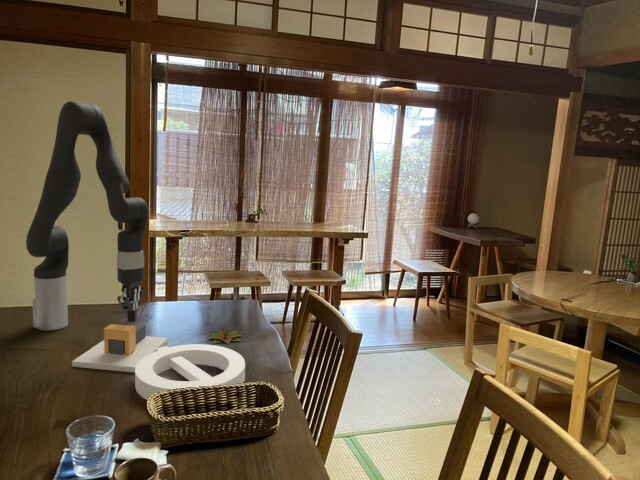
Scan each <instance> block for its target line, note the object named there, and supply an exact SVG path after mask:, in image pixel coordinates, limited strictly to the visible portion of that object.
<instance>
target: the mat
mask: <svg viewBox="0 0 640 480" xmlns="http://www.w3.org/2000/svg"><path fill="white" fill-rule="evenodd" d="M167 344H169V338H168V337H160V336H149V335H145V338H144V339H143V340H141V341H140V342H139V343H138V344H136V349H135V350H134V351H133V352H131V353H130V354H124V355H119V354H110V352H104V339H103V340H102V341H100V342H99V343H97V344H96V345H94V346H93V347H91V348H89V350H87V351H86V352H84V353H82V354H81V355H80V356H77V358H75V359H73V360H72V361H71V365H72V367H73V368H74V367H75V368H84V369H95V370H106V371H116V372H126V373H135V367H136V365H137V363H138V362H139V361H140V360H141V359H142V358H144V357H145V356H147V355H149V354H151V353H153V352H155V351H156V348H160V347H164V346H167Z"/></svg>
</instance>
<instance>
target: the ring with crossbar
mask: <svg viewBox="0 0 640 480" xmlns="http://www.w3.org/2000/svg"><path fill="white" fill-rule="evenodd" d="M197 365H201V366H208V367H209V366H211V367H214V366H215V367H214V368H217V367H218V369H220V370H222V371H223V370H224V371H223V372H221V373H220V374H217V375H215V376H211V375H210V374H208V372H206V371H204V370H203V369H201V368H200V367H198V366H197ZM170 369H172V370H174V371H176V373H178V374H180V375H181V376H182V377H184V378H185V379H186V380H188V381H184V380H183V381H182V380H173V379H168V378H165V377H161V376H160V374H162V373H163V372H164V371H167V370H170ZM245 379H246V361H245V359H244V357H243V356H242V355H241V354H240V353H239V352H237V351H235V350H233V349H230V348H229V347H226V346H221V345H216V344H215V345H213V344H206V343H205V344H204V343H203V344H200V343H198V344H197V343H195V344H194V343H193V344H191V343H190V344H181V345H174V346H168V345H165V346H164V347H160V348H156V351H155V352H153V353H151V354H149V355H147V356H145V357H144V358H142V359H141V360H140V361H139V362H138V363H137V365H136V367H135V372H134V381H135V382H134V386H135V387H134V388H135V390H136V393H137V394H138V395H139V396H140V397H141V398H143V399H145V400H146V401H148V400H147V399H148V397H149V396H151V395H152V394H154V393H157V392H160V391H164V390H169V389H176V388H186V387H199V386H212V385H227V384H237V383H243V382H244V383H245V382H246V381H245Z"/></svg>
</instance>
